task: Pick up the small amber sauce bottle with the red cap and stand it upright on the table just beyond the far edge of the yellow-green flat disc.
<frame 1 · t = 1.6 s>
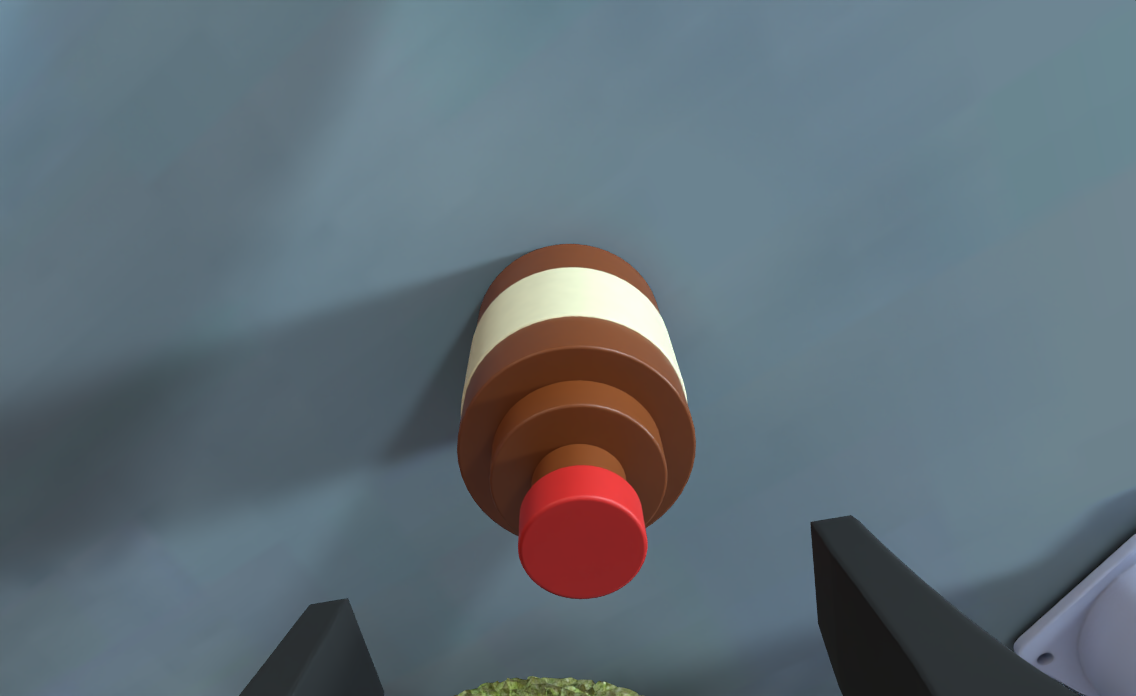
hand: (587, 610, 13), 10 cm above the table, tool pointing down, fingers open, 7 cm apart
sauce bottle: (568, 329, 23), on the table
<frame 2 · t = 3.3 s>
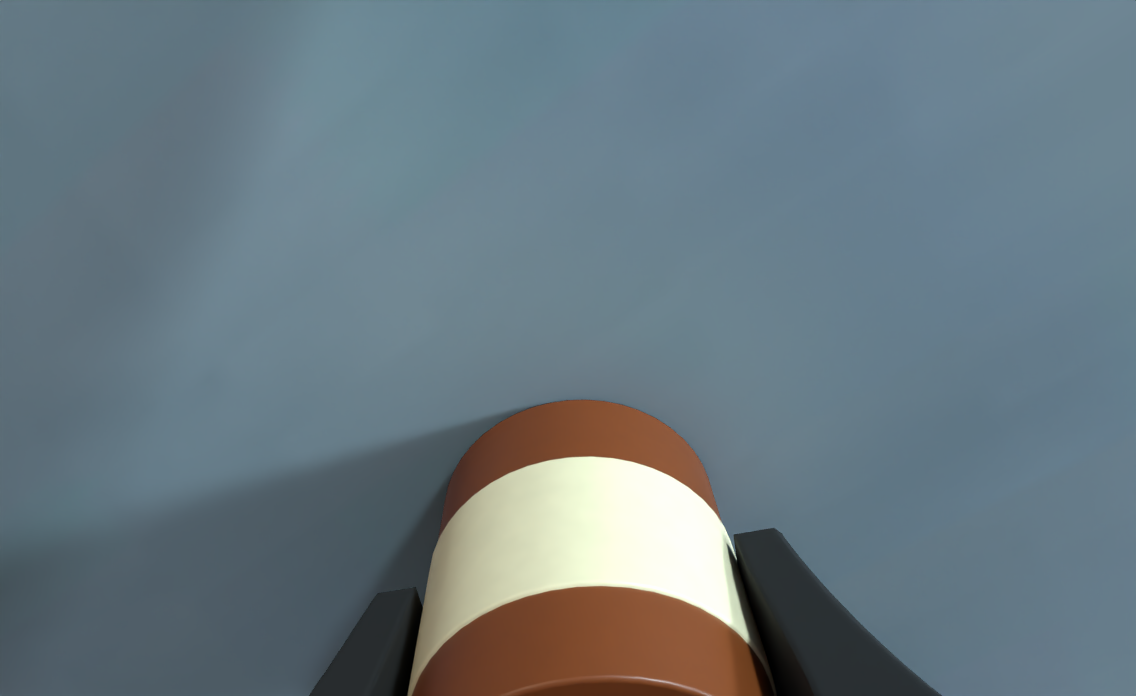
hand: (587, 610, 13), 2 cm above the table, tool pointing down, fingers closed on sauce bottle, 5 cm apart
sauce bottle: (578, 515, 15), on the table, touching gripper
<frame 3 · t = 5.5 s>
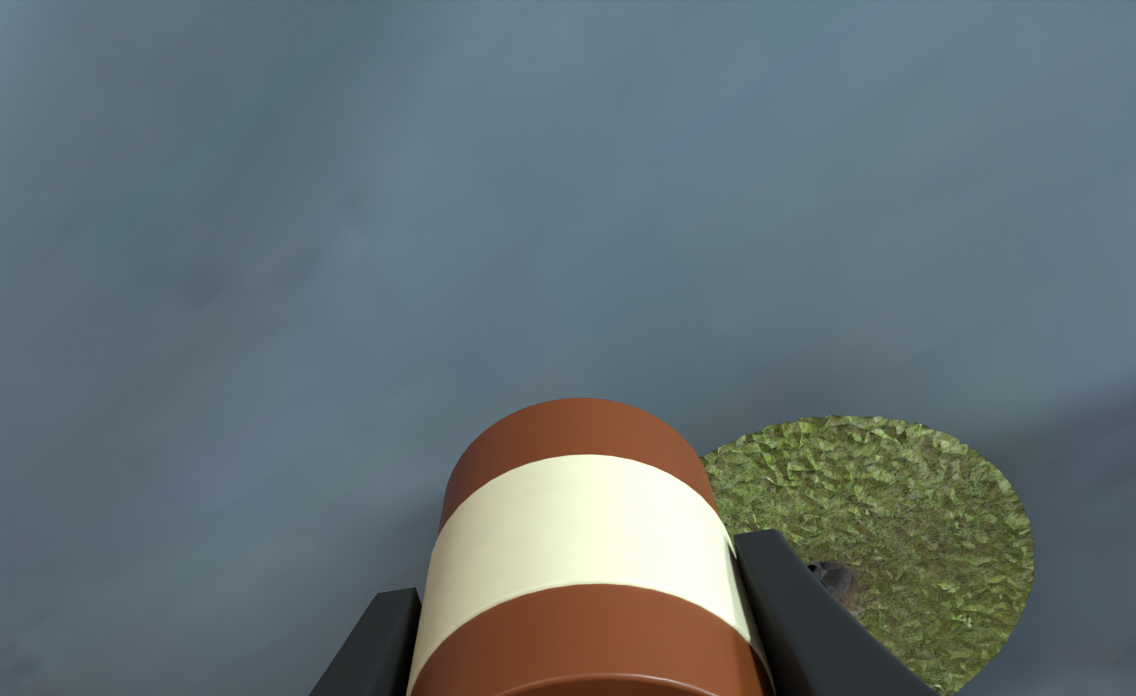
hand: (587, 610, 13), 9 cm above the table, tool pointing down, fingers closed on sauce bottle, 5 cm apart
sauce bottle: (578, 513, 15), point 7 cm above the table, touching gripper
yellow-green flat disc: (797, 549, 24), on the table
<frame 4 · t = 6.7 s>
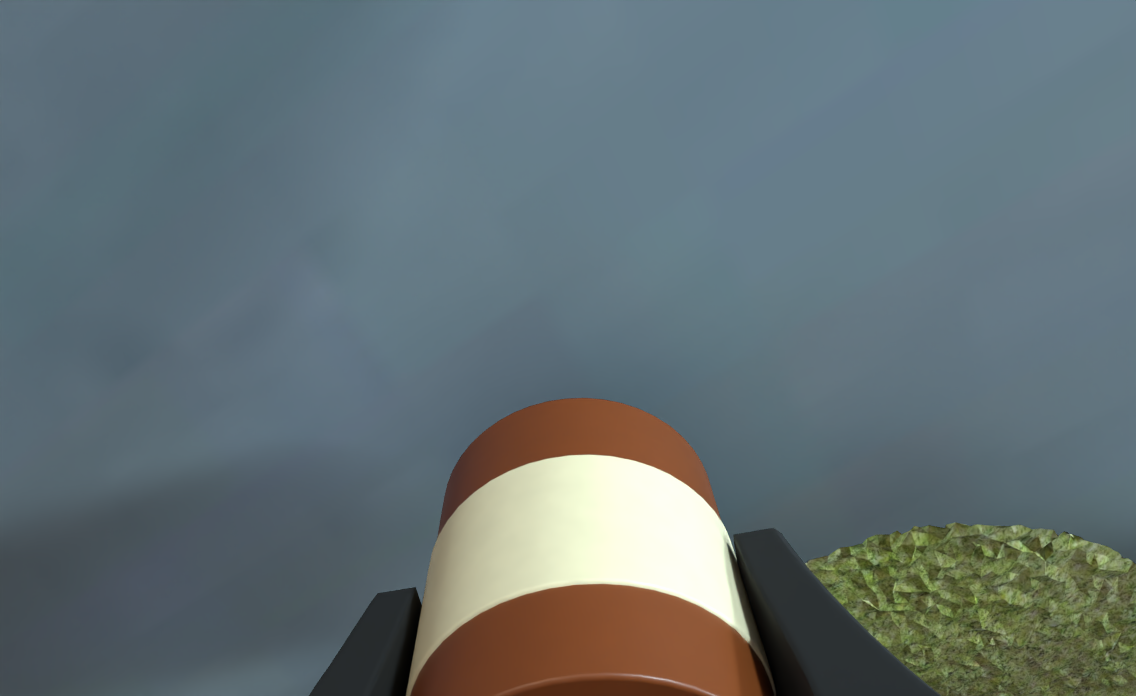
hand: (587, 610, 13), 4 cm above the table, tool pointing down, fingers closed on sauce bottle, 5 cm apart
sauce bottle: (578, 513, 15), point 1 cm above the table, touching gripper
yellow-green flat disc: (885, 668, 19), on the table
when the fingers open (2 cm above the table, at t = 7.7 s): sauce bottle stays where it is, on the table.
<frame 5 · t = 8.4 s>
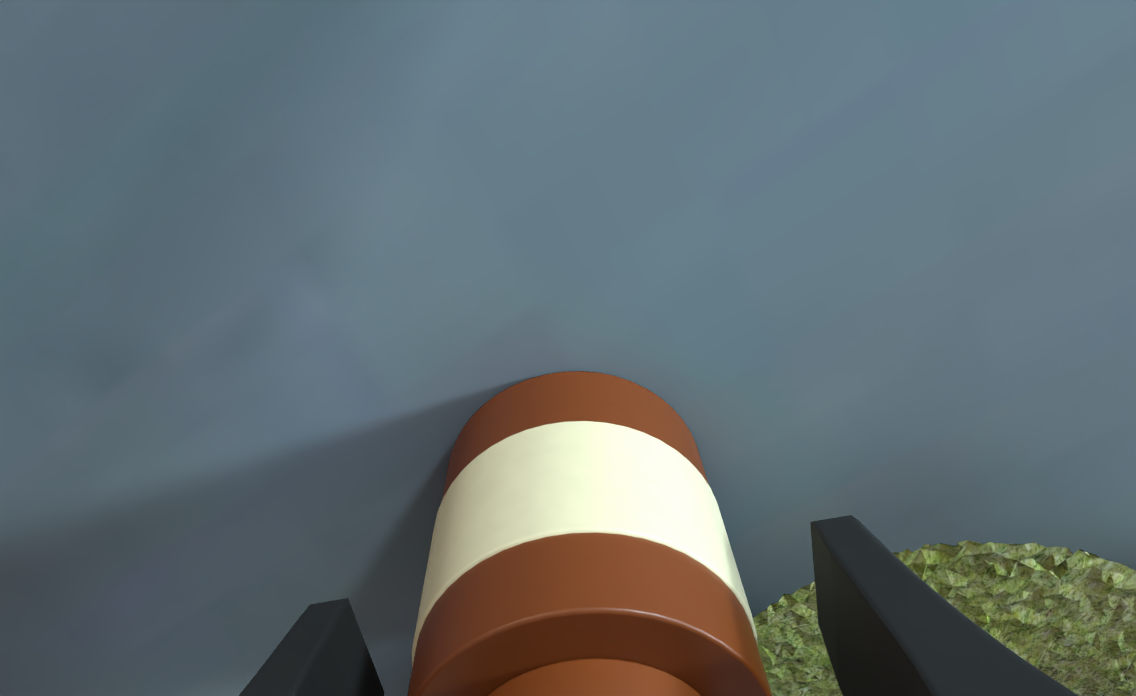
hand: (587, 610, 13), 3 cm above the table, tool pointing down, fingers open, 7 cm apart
sauce bottle: (574, 482, 16), on the table
yellow-green flat disc: (893, 685, 19), on the table
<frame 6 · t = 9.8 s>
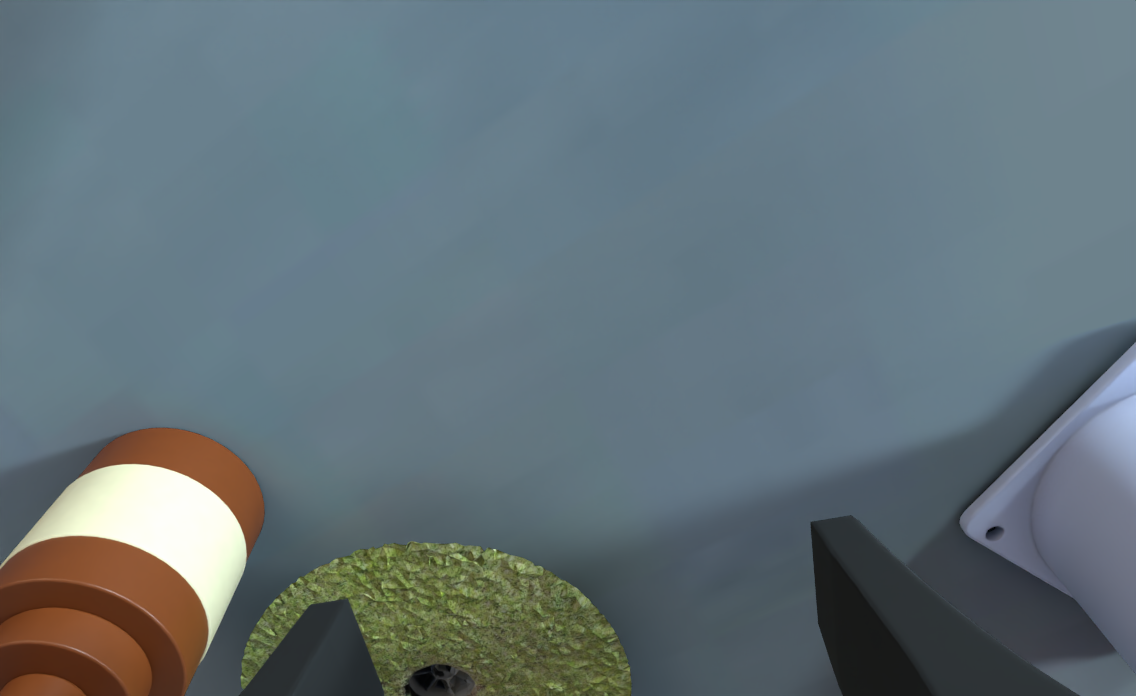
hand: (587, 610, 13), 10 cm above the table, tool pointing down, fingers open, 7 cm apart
sauce bottle: (177, 500, 24), on the table
yellow-green flat disc: (445, 644, 27), on the table
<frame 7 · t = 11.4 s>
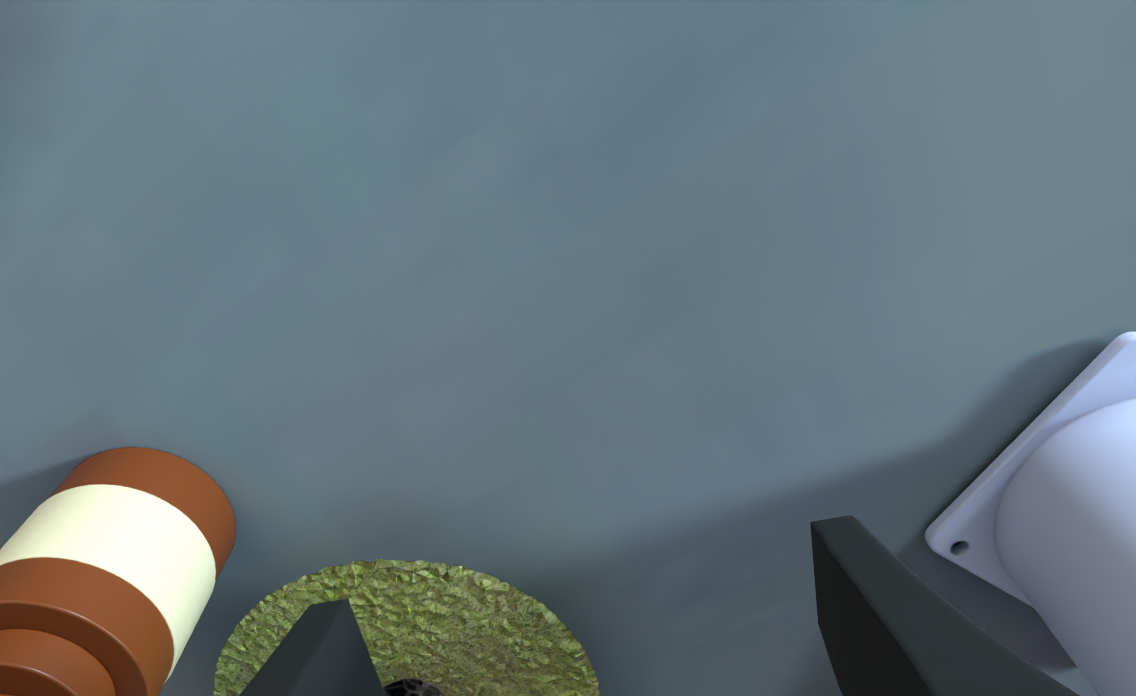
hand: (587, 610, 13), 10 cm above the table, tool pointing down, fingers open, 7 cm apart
sauce bottle: (149, 518, 24), on the table
yellow-green flat disc: (418, 658, 27), on the table
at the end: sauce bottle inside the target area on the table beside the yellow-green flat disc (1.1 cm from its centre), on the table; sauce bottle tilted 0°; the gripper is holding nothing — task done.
